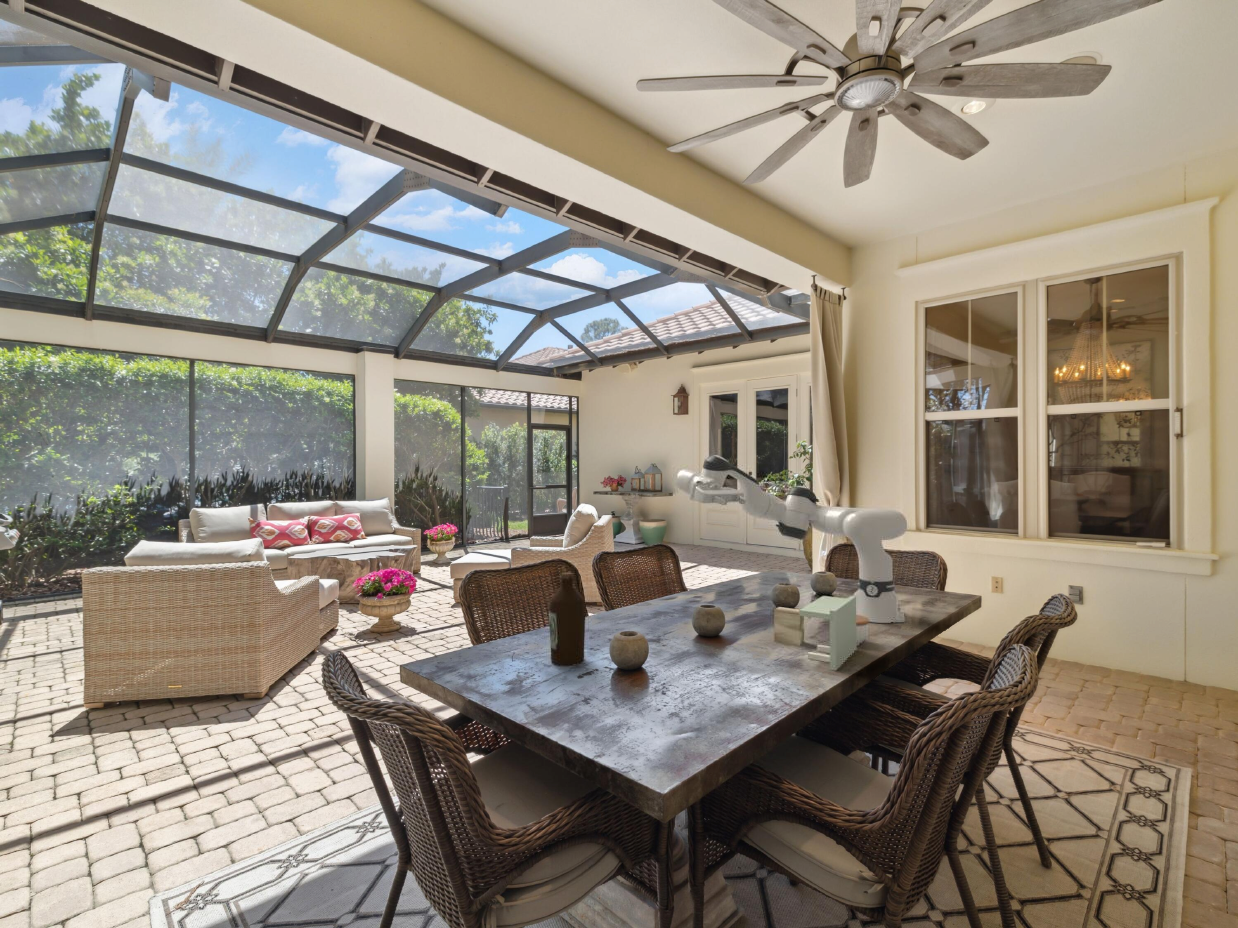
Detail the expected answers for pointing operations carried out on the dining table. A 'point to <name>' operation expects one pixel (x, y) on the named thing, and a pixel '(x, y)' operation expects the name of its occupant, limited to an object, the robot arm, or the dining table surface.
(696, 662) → the dining table surface
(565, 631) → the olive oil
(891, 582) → the robot arm
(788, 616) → the birch box
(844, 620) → the hutch
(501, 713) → the dining table surface
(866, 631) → the lidded jar
